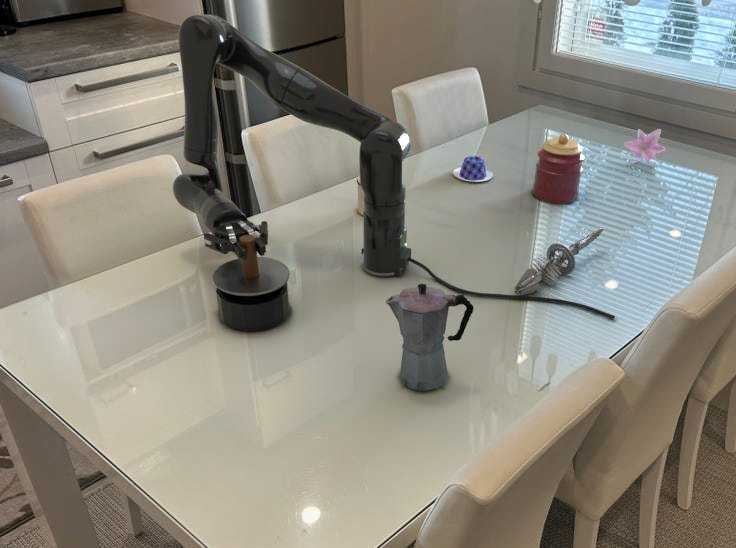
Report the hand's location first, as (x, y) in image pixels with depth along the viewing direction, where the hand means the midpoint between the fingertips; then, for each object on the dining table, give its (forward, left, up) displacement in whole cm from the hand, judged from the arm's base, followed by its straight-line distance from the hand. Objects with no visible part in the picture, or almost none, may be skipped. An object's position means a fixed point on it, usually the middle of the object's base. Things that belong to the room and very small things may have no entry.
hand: (253, 253), depth 140 cm
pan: (+2, -2, -15) cm, 16 cm away
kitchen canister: (-53, -85, -16) cm, 101 cm away
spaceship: (-58, -39, -16) cm, 72 cm away
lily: (-78, -123, -16) cm, 146 cm away
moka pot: (-37, +9, -16) cm, 41 cm away
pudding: (-28, -91, -16) cm, 96 cm away
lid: (+2, -2, -7) cm, 7 cm away
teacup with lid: (-8, -59, -16) cm, 62 cm away
